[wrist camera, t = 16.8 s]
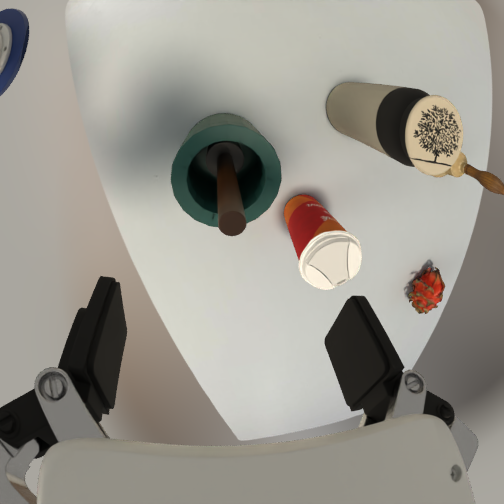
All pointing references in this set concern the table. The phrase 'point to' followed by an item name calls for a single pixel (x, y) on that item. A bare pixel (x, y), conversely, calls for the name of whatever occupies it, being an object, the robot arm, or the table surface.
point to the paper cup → (321, 244)
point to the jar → (205, 183)
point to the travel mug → (399, 123)
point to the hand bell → (474, 175)
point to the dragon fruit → (427, 291)
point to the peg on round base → (227, 185)
